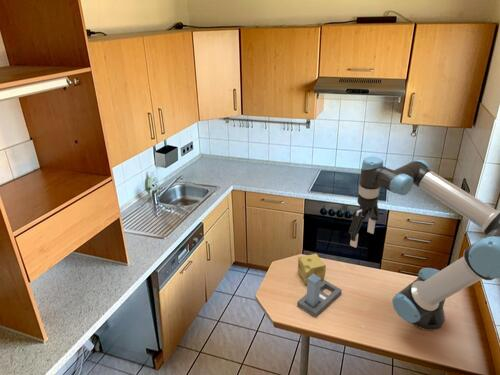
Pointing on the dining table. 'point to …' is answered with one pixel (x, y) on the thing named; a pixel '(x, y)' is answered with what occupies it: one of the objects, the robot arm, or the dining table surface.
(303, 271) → the cheese
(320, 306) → the port panel
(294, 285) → the dining table surface
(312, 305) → the plug
